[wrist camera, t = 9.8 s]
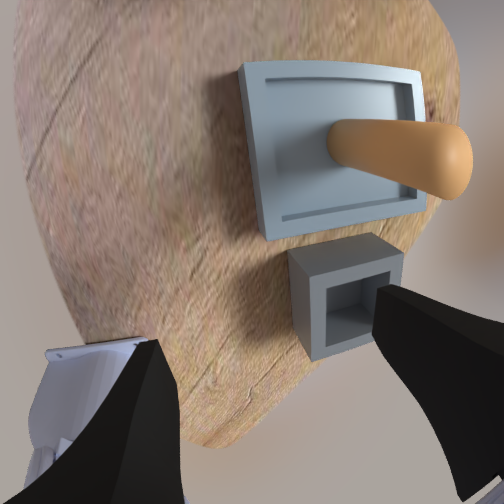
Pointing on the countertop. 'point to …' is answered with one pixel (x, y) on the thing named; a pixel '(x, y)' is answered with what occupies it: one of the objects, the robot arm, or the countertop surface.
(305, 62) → the tray
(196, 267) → the countertop surface
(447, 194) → the orange pin
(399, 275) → the pin cup
